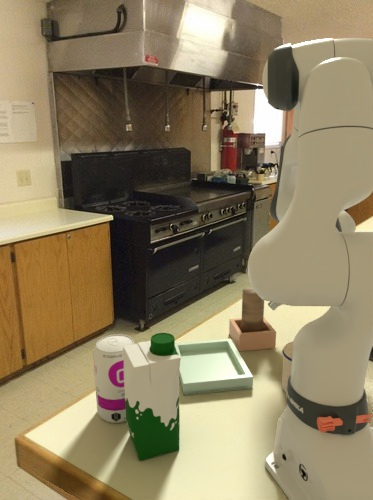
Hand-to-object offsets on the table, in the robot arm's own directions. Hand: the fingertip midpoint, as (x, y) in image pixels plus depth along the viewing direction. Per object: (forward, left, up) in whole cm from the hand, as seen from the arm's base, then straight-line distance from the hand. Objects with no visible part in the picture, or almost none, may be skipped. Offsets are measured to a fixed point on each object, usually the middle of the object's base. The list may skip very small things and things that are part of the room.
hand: (264, 300), depth 110 cm
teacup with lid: (-22, -2, -11) cm, 25 cm away
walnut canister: (0, +3, -11) cm, 12 cm away
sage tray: (-12, +17, -11) cm, 24 cm away
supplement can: (-24, +38, -11) cm, 46 cm away
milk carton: (-34, +32, -11) cm, 48 cm away
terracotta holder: (0, +3, -11) cm, 12 cm away
